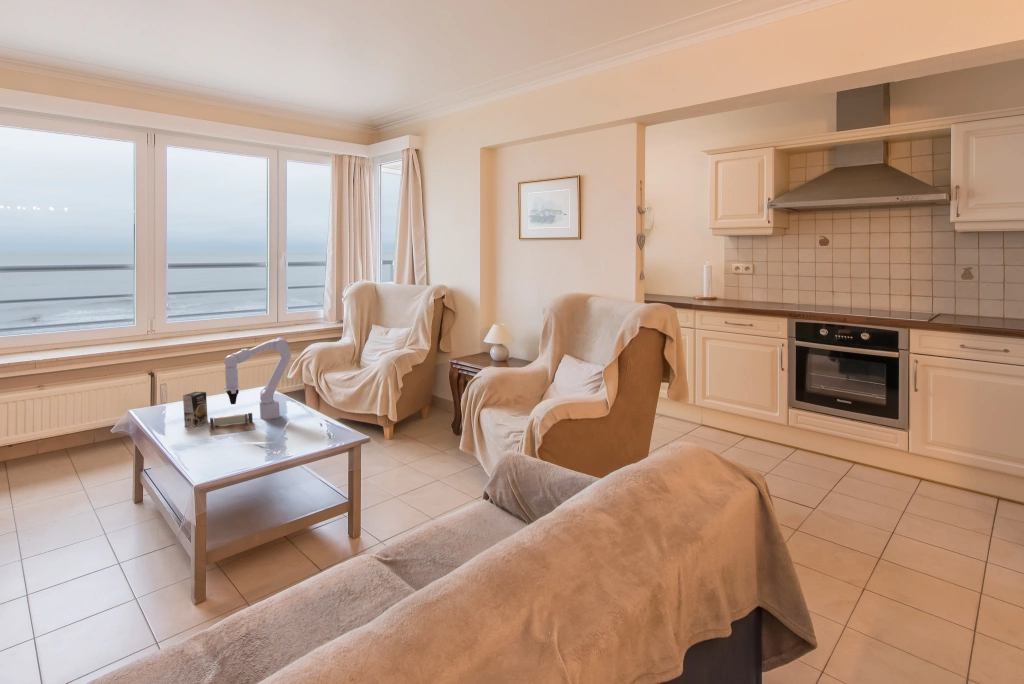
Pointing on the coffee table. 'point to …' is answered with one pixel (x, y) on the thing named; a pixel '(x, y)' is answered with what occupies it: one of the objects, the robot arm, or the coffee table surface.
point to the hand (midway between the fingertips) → (233, 403)
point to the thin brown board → (231, 427)
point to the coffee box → (195, 409)
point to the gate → (230, 419)
